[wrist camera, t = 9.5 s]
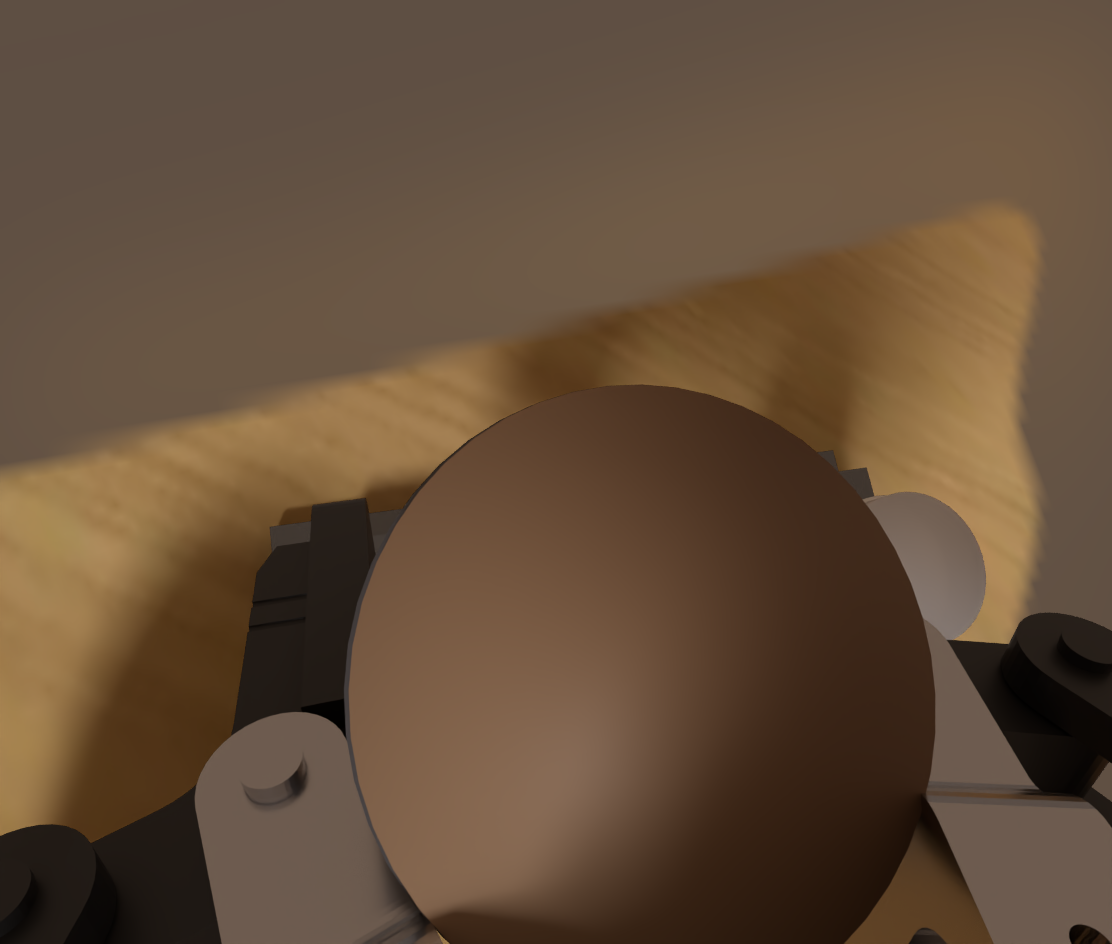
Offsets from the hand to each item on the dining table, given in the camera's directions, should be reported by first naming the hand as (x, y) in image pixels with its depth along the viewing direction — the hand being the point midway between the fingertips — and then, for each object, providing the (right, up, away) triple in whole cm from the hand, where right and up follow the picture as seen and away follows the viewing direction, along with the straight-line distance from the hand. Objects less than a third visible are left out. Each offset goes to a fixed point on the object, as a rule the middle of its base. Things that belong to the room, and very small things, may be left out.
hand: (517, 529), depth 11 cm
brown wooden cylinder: (-1, -3, +4) cm, 5 cm away
